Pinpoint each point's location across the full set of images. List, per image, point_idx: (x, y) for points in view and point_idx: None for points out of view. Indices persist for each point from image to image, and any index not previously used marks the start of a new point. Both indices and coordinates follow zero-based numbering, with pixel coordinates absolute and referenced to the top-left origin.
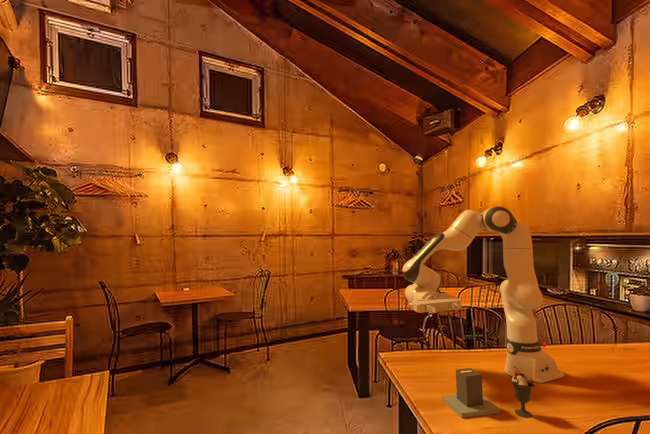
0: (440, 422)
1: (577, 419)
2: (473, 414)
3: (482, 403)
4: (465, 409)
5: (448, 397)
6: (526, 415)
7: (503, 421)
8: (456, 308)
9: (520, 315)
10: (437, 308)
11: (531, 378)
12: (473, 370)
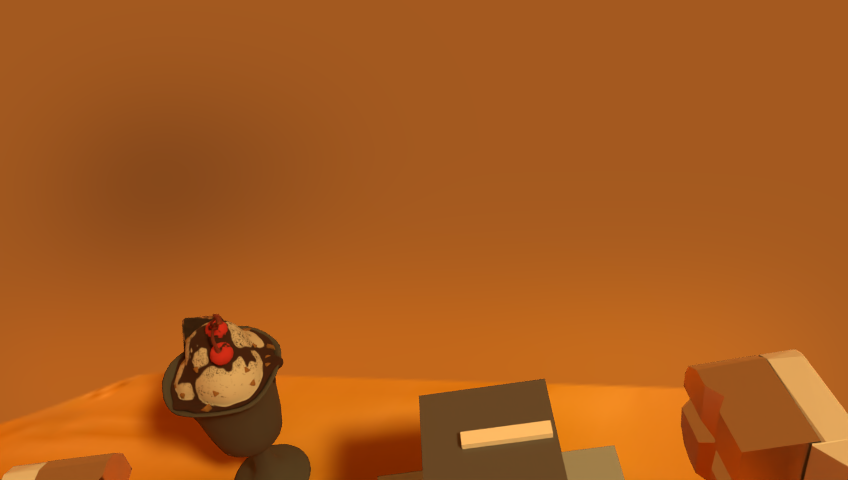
0: None
1: (93, 423)
2: None
3: None
4: (575, 477)
5: None
6: (280, 449)
7: (418, 425)
8: (126, 478)
9: None
10: (696, 366)
11: (188, 318)
12: (434, 462)
